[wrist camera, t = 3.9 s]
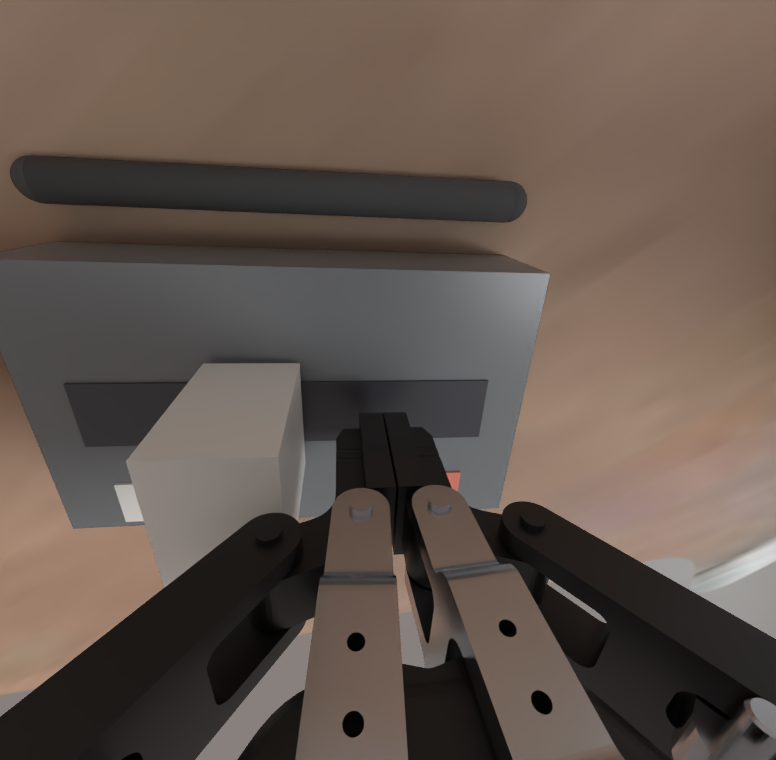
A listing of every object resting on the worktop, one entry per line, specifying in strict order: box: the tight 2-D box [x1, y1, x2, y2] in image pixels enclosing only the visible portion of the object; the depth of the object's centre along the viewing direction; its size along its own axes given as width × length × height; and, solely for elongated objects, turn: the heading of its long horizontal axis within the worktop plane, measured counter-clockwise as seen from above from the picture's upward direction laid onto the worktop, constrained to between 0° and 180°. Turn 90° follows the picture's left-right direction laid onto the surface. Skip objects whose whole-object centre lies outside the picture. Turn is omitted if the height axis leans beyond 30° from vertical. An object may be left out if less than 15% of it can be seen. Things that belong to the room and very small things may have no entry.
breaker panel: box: [0, 241, 550, 529], centre depth 16 cm, size 17×10×4 cm, turn 87°
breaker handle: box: [126, 363, 305, 588], centre depth 11 cm, size 3×4×5 cm
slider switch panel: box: [10, 155, 527, 222], centre depth 17 cm, size 17×15×1 cm
